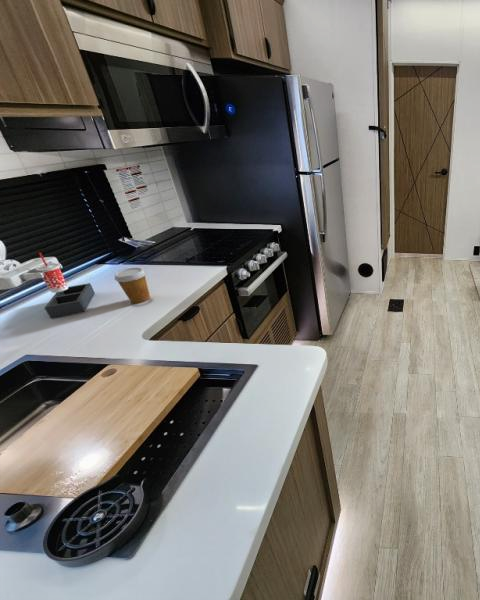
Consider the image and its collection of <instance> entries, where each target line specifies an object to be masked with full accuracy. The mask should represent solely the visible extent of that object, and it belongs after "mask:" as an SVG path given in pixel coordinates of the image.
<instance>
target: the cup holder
mask: <svg viewBox="0 0 480 600" xmlns="http://www.w3.org/2000/svg"><path fill="white" fill-rule="evenodd" d="M95 295H96V292H95V290H94V288H93V286H92V284H91V283H90V282H88V283H83V284H76V285H71V286H68V289H67V290H64V291H61V292H56V293H55V294H54V295H53V296H52V298H51V299H50V300H49V301H48V302H47V304H45V306H44V310H45V311H46V313H47V314H48V316H49V318H50V319H51V320H53V319H57V318H61V317H67V316H72V315H76V314H81V313H85V312H86V310H87V309H88V307H89V305H90V303H91V302H92V300H93V298H94V296H95Z"/></svg>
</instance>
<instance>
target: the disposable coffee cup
mask: <svg viewBox="0 0 480 600" xmlns="http://www.w3.org/2000/svg"><path fill="white" fill-rule="evenodd" d="M114 280H115V281H116V282H117V283H118V284H119V286H120V288H121V289H122V291H123V292H124V294H125V295H126V296H127V298H128V299H129V301H130V303H131V304H141V303H145V302H147V301H149V300H150V299H151V295H150V291H149V287H148V283H147V282H148V281H147V279H146V271H145V270H144V269H143V268H141V267H130V268H126V269H122V270H119V271H117V272H116V273H115V274H114Z"/></svg>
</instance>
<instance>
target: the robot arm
mask: <svg viewBox="0 0 480 600" xmlns="http://www.w3.org/2000/svg"><path fill="white" fill-rule="evenodd" d="M7 251H8V250H7V247H6V244H5V243H4V241H2V240H1V239H0V291H2V290H3V291H4V290H10V289H15V288H17V287H19V286H21V285H23V284H25V283H27V282H30V281H33V280H37V279H42V278H43V277H45V276H46V274H45V273H44V272H37V271H36V270H35V268H37V267H39V266H43V265H45V264H44V262H43V260H42V258H41V257H36V258H32V259H29V260H27V261H24V262H22V263H20V261H18V260H16V259H15V260H14V259H7V258H8V257H7V254H8V252H7ZM43 258H44V260H45V262H46V263H47V264H59V266H60V267H59V268H60V270H61V269H63V265H62V264H61V263H60V261H59V260H58V258H57V257H56V256H46V257H45V256H43Z"/></svg>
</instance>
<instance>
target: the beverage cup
mask: <svg viewBox="0 0 480 600" xmlns="http://www.w3.org/2000/svg"><path fill="white" fill-rule="evenodd" d="M38 254H39V256H40V258H42V260H43V262H44V264H45V265H43V266H39V267H37V268H35V270H36V271H37V272H44V273H45V274H46V276H45V277H43V278H41V279H42V281H43V282H44V283H45V285H46V286H47V288H48V290H49V291H50V293H55V294H56V292H61V291H64V290H67V289H68V287H69V286H68V284H67V282H66V279H65V276H64V274H63V272H62V270H61V269H60V268H59V267H60V266H59V264H60V263H59V264H47V263H46V262H45V260H44V256H43V254H42V252H38Z"/></svg>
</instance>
